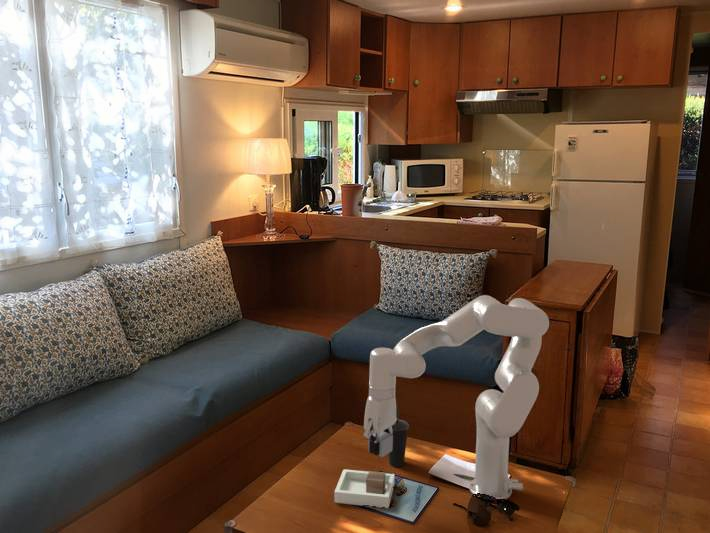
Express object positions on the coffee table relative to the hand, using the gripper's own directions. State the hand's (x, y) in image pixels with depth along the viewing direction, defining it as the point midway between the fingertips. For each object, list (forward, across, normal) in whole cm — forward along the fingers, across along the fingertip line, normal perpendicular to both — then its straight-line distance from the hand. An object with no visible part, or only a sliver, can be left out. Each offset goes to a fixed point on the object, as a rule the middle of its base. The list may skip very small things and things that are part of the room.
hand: (380, 449), depth 192 cm
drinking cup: (+16, -21, -8) cm, 28 cm away
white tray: (+16, 0, -5) cm, 17 cm away
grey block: (+1, 0, 0) cm, 1 cm away
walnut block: (+15, -2, -2) cm, 16 cm away
